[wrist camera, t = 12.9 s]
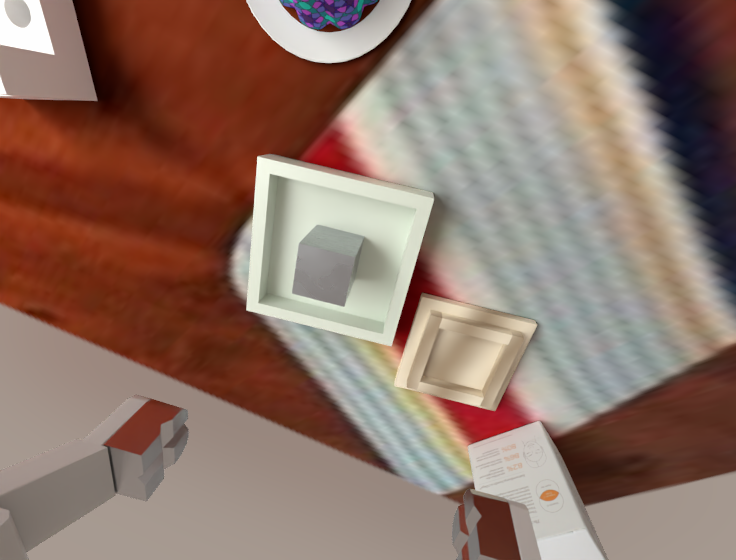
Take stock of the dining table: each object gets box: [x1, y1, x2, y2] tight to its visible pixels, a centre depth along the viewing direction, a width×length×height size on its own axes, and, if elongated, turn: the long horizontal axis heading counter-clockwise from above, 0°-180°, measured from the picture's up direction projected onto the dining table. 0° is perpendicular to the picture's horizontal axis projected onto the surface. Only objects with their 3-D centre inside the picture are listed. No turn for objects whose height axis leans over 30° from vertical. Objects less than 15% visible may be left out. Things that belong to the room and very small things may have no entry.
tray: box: [246, 154, 434, 346], centre depth 29 cm, size 13×13×2 cm
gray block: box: [292, 224, 365, 307], centre depth 27 cm, size 4×4×5 cm
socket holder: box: [394, 293, 537, 411], centre depth 32 cm, size 10×10×2 cm
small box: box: [468, 421, 608, 560], centre depth 32 cm, size 8×6×10 cm
